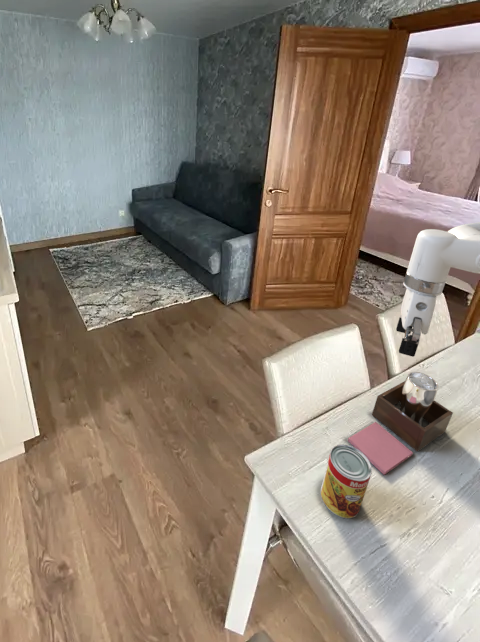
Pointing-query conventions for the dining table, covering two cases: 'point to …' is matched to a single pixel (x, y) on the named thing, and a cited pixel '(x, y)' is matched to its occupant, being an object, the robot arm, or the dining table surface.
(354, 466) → the canned food
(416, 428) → the brown wooden box
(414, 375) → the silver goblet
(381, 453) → the mat
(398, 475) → the dining table surface
